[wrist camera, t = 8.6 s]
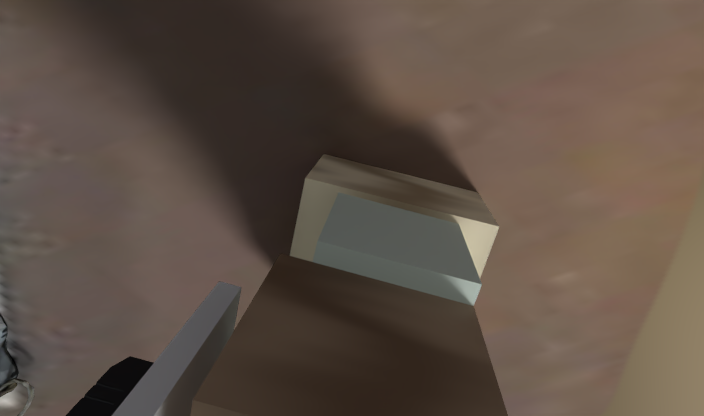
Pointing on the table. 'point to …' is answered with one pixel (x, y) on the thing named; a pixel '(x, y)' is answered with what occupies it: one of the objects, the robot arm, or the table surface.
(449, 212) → the tower base
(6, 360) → the figurine
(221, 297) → the robot arm
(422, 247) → the tower top
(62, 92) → the table surface
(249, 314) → the walnut cube
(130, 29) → the table surface
